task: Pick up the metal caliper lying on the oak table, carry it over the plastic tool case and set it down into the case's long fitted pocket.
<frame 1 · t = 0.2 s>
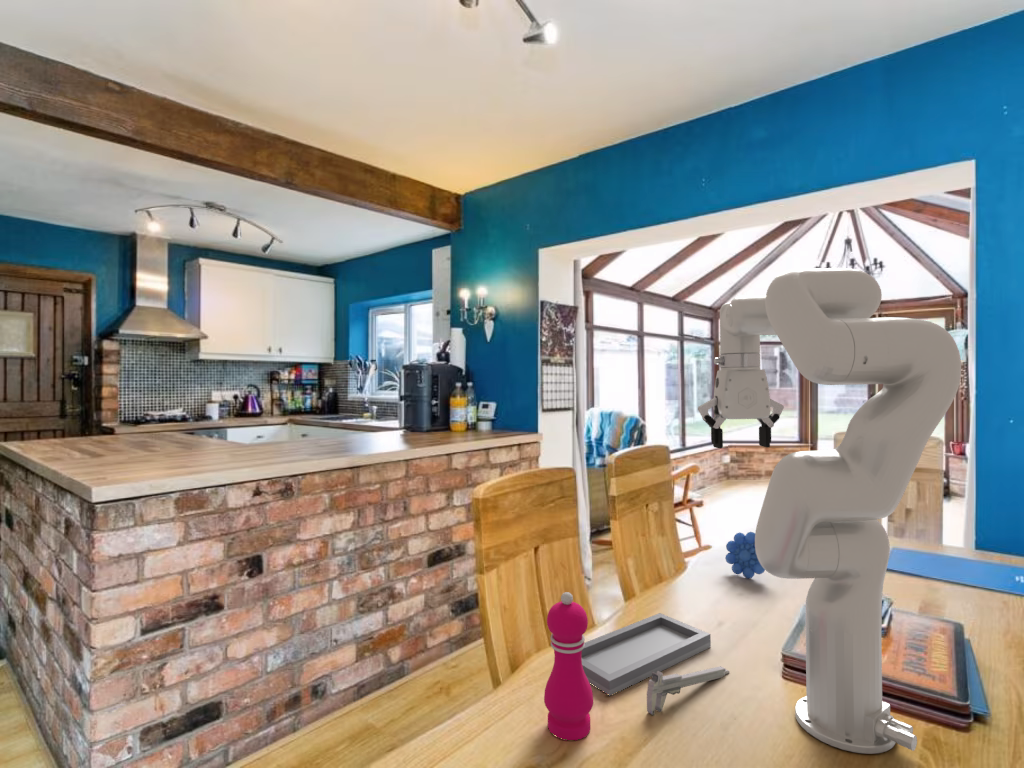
hand: (741, 447, 113), 37 cm above the table, tool pointing down, fingers open, 9 cm apart
pepper mill: (569, 729, 82), on the table
blue bumpy cluster: (749, 578, 141), on the table
tool case: (638, 656, 102), on the table
caliper: (690, 694, 91), on the table
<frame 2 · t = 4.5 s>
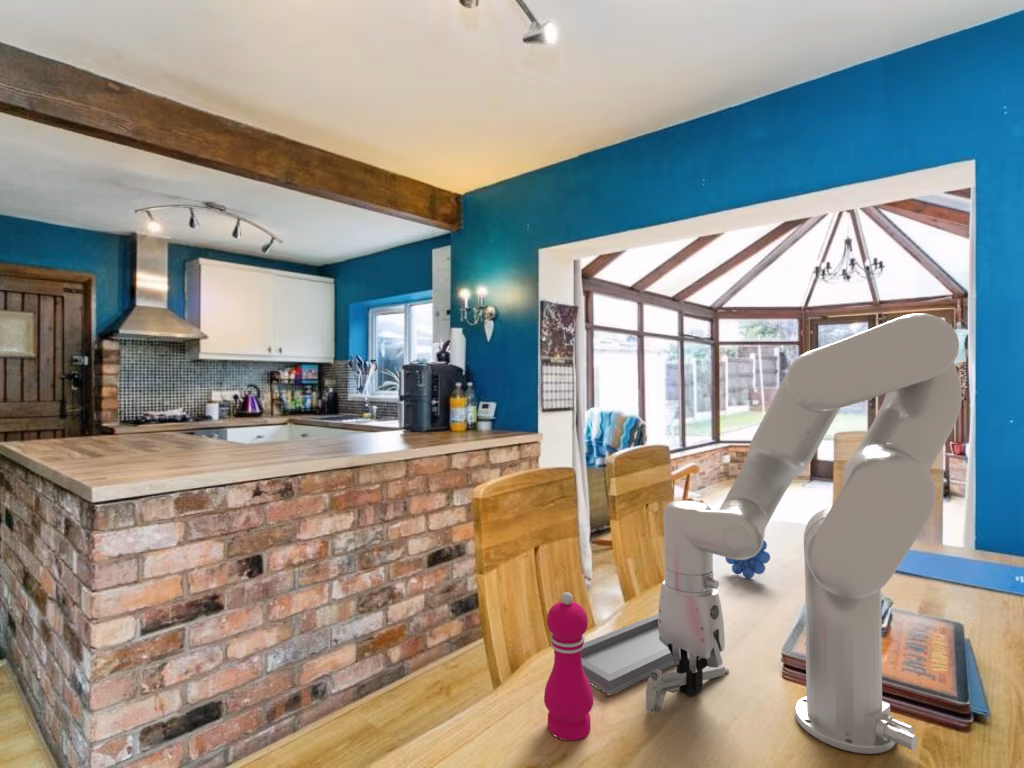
hand: (689, 690, 91), 0 cm above the table, tool pointing down, fingers closed on caliper, 1 cm apart
caliper: (690, 692, 91), on the table, touching gripper
everything else where it was.
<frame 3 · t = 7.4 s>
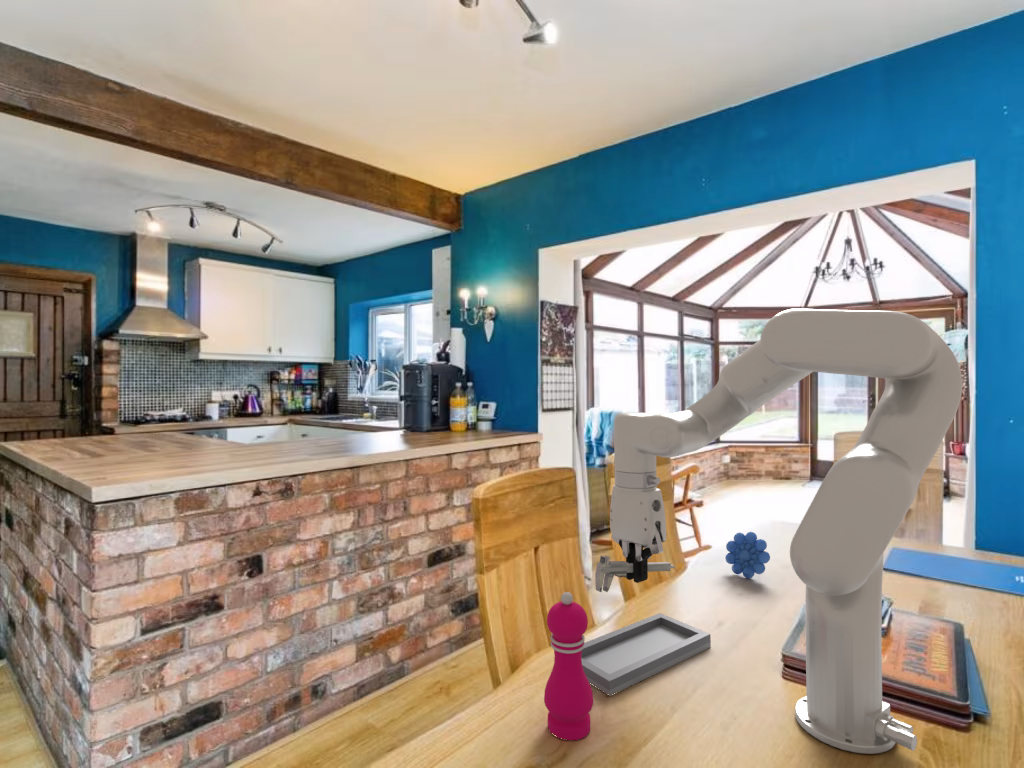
hand: (637, 579, 102), 14 cm above the table, tool pointing down, fingers closed on caliper, 1 cm apart
caliper: (637, 581, 102), point 14 cm above the table, touching gripper
everything else where it was.
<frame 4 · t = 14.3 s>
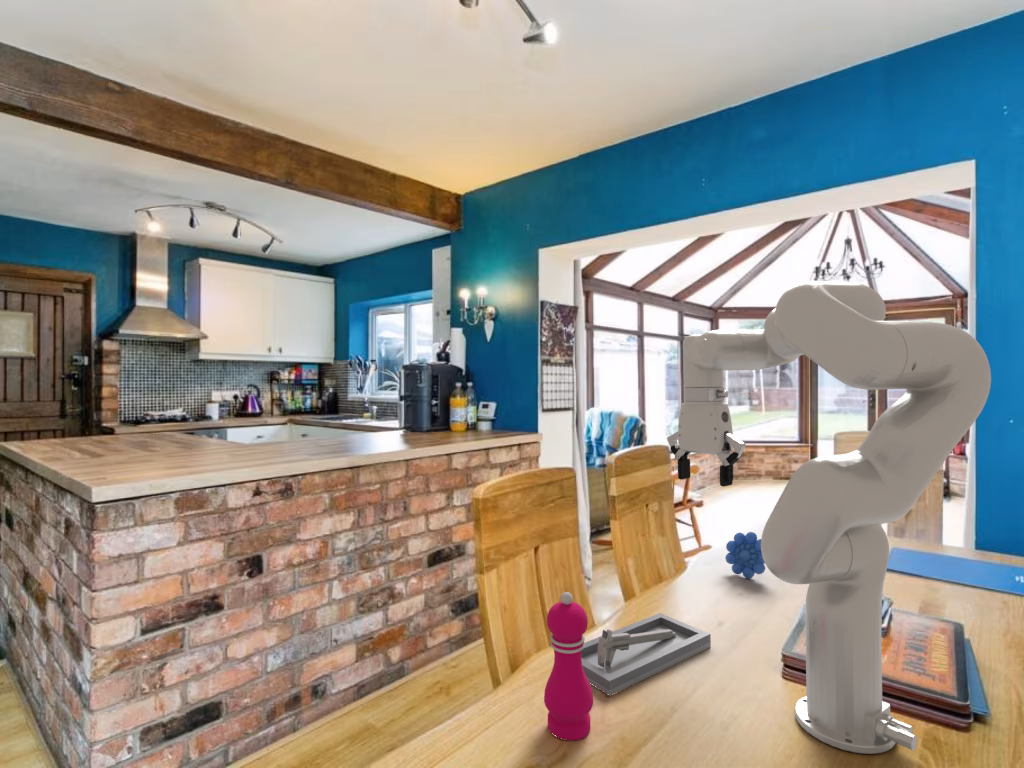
hand: (704, 481, 111), 30 cm above the table, tool pointing down, fingers open, 9 cm apart
caliper: (639, 652, 102), point 1 cm above the table, touching tool case
everything else where it was.
at the end: caliper 0.3 cm off-centre on the tool case, point 0.8 cm above the tool case's base; caliper tilted 0°; the gripper is holding nothing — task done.
